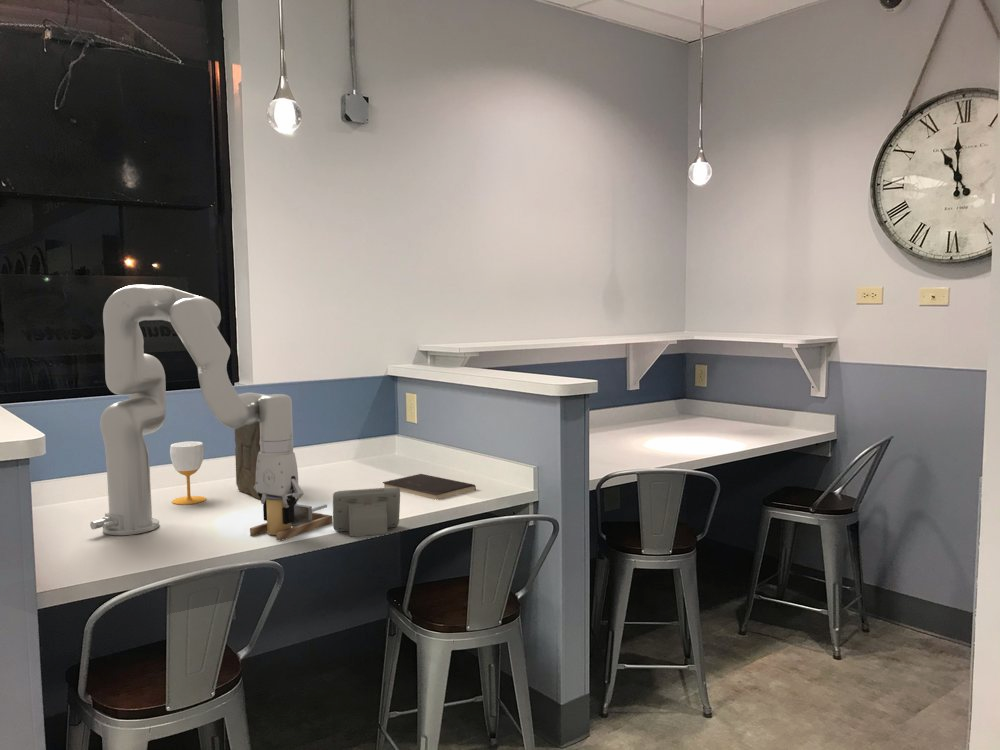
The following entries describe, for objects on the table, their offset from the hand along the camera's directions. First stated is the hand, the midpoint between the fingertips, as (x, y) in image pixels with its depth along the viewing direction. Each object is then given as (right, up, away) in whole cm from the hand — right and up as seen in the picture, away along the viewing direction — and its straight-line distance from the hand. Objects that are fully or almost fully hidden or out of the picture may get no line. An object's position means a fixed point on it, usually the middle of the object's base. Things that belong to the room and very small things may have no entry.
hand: (279, 520), depth 195 cm
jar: (0, -3, 0) cm, 3 cm away
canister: (-17, 0, +41) cm, 44 cm away
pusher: (+6, -2, +10) cm, 12 cm away
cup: (-34, -1, +33) cm, 47 cm away
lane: (+2, -3, +4) cm, 5 cm away
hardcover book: (+32, 0, +45) cm, 55 cm away
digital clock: (+21, -3, +2) cm, 21 cm away
